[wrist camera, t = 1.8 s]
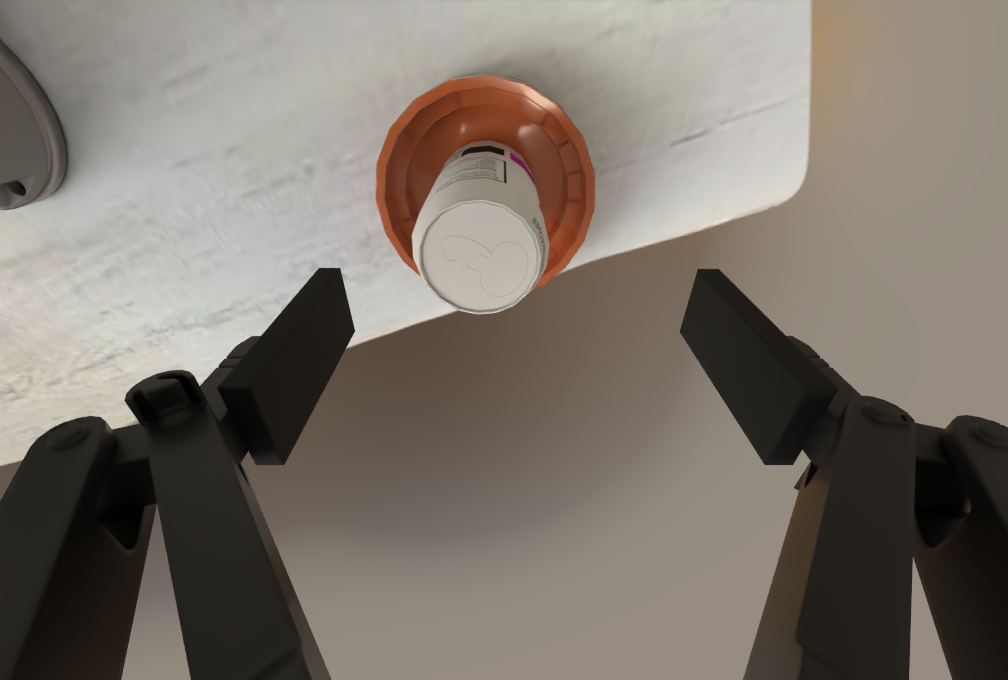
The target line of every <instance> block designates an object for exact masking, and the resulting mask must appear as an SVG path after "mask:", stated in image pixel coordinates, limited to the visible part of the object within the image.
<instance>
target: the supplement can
mask: <svg viewBox="0 0 1008 680" xmlns="http://www.w3.org/2000/svg"><path fill="white" fill-rule="evenodd" d="M412 246H413V259H414V261H415V263H416V266H417V268H418V270H419V273H420V275H421V277H422V279H423V280H424V281H425V282H426V285H427V286H428V287H429V288H430V290H431V291H432V292H433V293H434V294H435V295H436V296H437V297H438V298H439V299H440V300H441V301H442V302H444V303H446V304H448V305H450V306H451V307H453V308H455V309H457V310H459V311H464V312H469V313H473V314H487V313H496V312H499V311H502V310H504V309H507V308H509V307H512V306H514V305H515V304H517V303H518V302H519V301H520V300H521V299H522V298H523V297H524V296H526V295H527V294H528V293H529V292H530V291H531V290H532V289H533V288H534V287H535V286H536V285H537V283H538V281H539V279H540V278H541V276H542V274H543V272H544V270H545V269H546V266H547V259H548V252H549V246H550V245H549V240H548V236H547V231H546V227H545V222H544V218H543V214H542V210H541V206H540V202H539V198H538V194H537V190H536V186H535V182H534V178H533V174H532V171H531V169H530V168H529V166H528V164H527V163H526V161H525V160H524V158H523V157H522V155H520V154H519V153H518V152H516V151H515V150H514V149H512V148H511V147H510V146H508V145H506V144H503V143H499V142H496V141H492V140H485V141H476V142H471V143H469V144H467V145H465V146H463V147H462V148H460V149H458V150H456V151H455V153H454V154H453V155H452V156H451V157H450V158H449V160H448V161H447V162H446V163H445V165H444V167H443V169H442V170H441V172H440V174H439V176H438V178H437V180H436V182H435V184H434V186H433V188H432V190H431V192H430V193H429V195H428V197H427V199H426V201H425V203H424V205H423V207H422V209H421V211H420V213H419V216H418V219H417V221H416V224H415V227H414V230H413V233H412Z"/></svg>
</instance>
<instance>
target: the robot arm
mask: <svg viewBox="0 0 1008 680" xmlns="http://www.w3.org/2000/svg"><path fill="white" fill-rule="evenodd" d="M66 158H67V155H66V147H65V142H64V137H63V134H62V131H61V128H60V125H59V123H58V120H57V118H56V116H55V114H54V112H53V109H52V107H51V106H50V104H49V102H48V100H47V99H46V97H45V95H44V94H43V92H42V91H41V89H40V88H39V86H38V85H37V83H36V82H35V81H34V79H33V78H32V77H31V75H30V74H29V73H28V71H27V70H26V69H25V68H24V67H23V65H22V64H21V63H20V62H19V61H18V60H17V59H16V58H15V57H14V55H13V54H12V53H11V52H10V51H9V50H8V49H7V48H6V47H5V46H4V45H3V44H2V43H1V42H0V210H9V209H15V208H18V207H22V206H25V205H28V204H31V203H34V202H38V201H40V200H43V199H45V198H47V197H48V196H50V195H51V194H52V193H53V192H54V191H56V189H57V188H58V187H59V185H60V184H61V182H62V180H63V178H64V174H65V170H66ZM354 332H355V329H354V325H353V320H352V316H351V312H350V308H349V304H348V299H347V295H346V291H345V287H344V282H343V278H342V274H341V270H340V268H319V269H318V270H317V271H316V272H315V273H314V275H313V276H312V277H311V278H310V279H309V281H308V282H307V283H306V284H305V285H304V286H303V288H302V289H301V290H300V291H299V292H298V293H297V295H296V296H295V297H294V298H293V299H292V300H291V302H290V303H289V304H288V305H287V306H286V307H285V309H284V310H283V311H282V312H281V313H280V315H279V316H278V317H277V318H276V319H275V320H274V322H273V323H272V324H271V325H270V326H269V327H268V329H267V330H266V331H265V332H264V333H263V334H262V336H252V337H250V338H248V339H247V340H245V341H244V342H242V343H240V344H239V345H237V346H236V347H235V348H234V349H233V350H232V351H231V353H230V354H229V355H228V356H227V359H224V360H223V361H222V362H221V364H220V365H219V368H216V369H215V370H214V371H213V372H212V373H211V375H210V376H209V377H208V378H207V379H206V380H205V381H204V382H203V383H202V384H201V386H199V384H198V382H197V381H196V379H195V377H194V375H192V374H191V373H190V372H189V371H184V370H172V371H166V372H162V373H158V374H155V375H153V376H151V377H148V378H146V379H144V380H142V381H141V382H139V383H138V384H136V385H135V386H133V387H132V388H131V389H130V390H129V392H128V393H127V394H126V397H125V402H126V403H127V405H128V406H129V408H130V409H131V411H132V412H133V414H134V415H135V417H136V418H137V419H138V421H139V422H140V424H137V425H132V426H127V427H122V428H117V429H113V430H112V429H111V428H110V427H109V425H108V424H107V423H106V421H105V420H103V419H102V418H101V417H94V416H88V417H82V418H77V419H74V420H71V421H67V422H64V423H62V424H59V425H58V426H55V427H53V428H52V429H50V430H49V431H47V432H46V433H45V434H43V435H42V436H40V437H39V438H38V439H37V440H36V441H35V442H34V443H33V445H32V446H31V447H30V449H29V450H28V452H27V454H26V456H25V458H24V459H23V461H22V463H21V465H20V467H19V468H18V470H17V472H16V474H15V476H14V478H13V479H12V481H11V483H10V485H9V487H8V488H7V490H6V492H5V494H4V496H3V497H2V499H1V501H0V680H121V678H122V673H123V668H124V663H125V658H126V653H127V648H128V643H129V638H130V633H131V628H132V624H133V618H134V614H135V609H136V604H137V599H138V594H139V589H140V584H141V579H142V574H143V570H144V564H145V559H146V555H147V550H148V545H149V540H150V535H151V530H152V525H153V520H154V515H155V511H156V506H157V504H158V510H159V515H160V520H161V525H162V531H163V536H164V541H165V546H166V552H167V557H168V562H169V567H170V572H171V578H172V583H173V588H174V593H175V599H176V604H177V609H178V614H179V620H180V625H181V630H182V635H183V640H184V646H185V651H186V656H187V661H188V666H189V672H190V677H191V680H331V677H330V675H329V672H328V670H327V668H326V665H325V663H324V660H323V658H322V656H321V653H320V651H319V648H318V646H317V644H316V641H315V639H314V636H313V634H312V632H311V629H310V627H309V624H308V622H307V619H306V617H305V615H304V612H303V610H302V607H301V605H300V602H299V600H298V598H297V595H296V593H295V591H294V588H293V586H292V583H291V581H290V578H289V576H288V574H287V571H286V569H285V567H284V564H283V561H282V559H281V557H280V554H279V552H278V549H277V547H276V545H275V542H274V540H273V537H272V535H271V533H270V530H269V528H268V525H267V523H266V521H265V518H264V516H263V513H262V511H261V509H260V506H259V504H258V501H257V499H256V496H255V494H254V492H253V489H252V487H251V484H250V482H249V480H248V477H247V475H246V473H245V470H244V468H243V466H242V464H241V461H242V460H243V458H244V457H245V455H246V454H247V452H248V451H249V453H250V455H251V456H252V458H253V460H254V462H255V464H256V465H284V464H285V462H286V460H287V459H288V457H289V455H290V453H291V451H292V449H293V447H294V445H295V444H296V442H297V440H298V438H299V436H300V434H301V432H302V430H303V428H304V426H305V425H306V423H307V421H308V419H309V417H310V415H311V413H312V411H313V410H314V408H315V406H316V404H317V402H318V400H319V398H320V396H321V394H322V393H323V391H324V389H325V387H326V385H327V383H328V381H329V379H330V377H331V376H332V374H333V372H334V370H335V368H336V366H337V364H338V362H339V360H340V358H341V356H342V355H343V353H344V351H345V349H346V347H347V345H348V343H349V342H350V340H351V338H352V336H353V334H354ZM680 333H681V334H682V336H683V338H684V339H685V341H686V342H687V344H688V345H689V347H690V349H691V350H692V352H693V353H694V355H695V356H696V358H697V359H698V361H699V363H700V364H701V366H702V367H703V369H704V370H705V372H706V374H707V375H708V377H709V378H710V380H711V381H712V383H713V385H714V386H715V388H716V389H717V391H718V392H719V394H720V396H721V397H722V399H723V400H724V402H725V403H726V405H727V406H728V408H729V410H730V411H731V413H732V414H733V416H734V417H735V419H736V420H737V422H738V424H739V425H740V427H741V428H742V430H743V432H744V433H745V435H746V436H747V437H748V439H749V441H750V442H751V444H752V445H753V447H754V449H755V450H756V452H757V453H758V455H759V456H760V458H761V459H762V461H763V463H764V464H765V465H793V464H794V462H795V460H796V459H797V457H798V455H799V454H800V452H801V450H803V451H804V452H805V454H806V455H807V456H808V457H809V459H810V460H811V462H810V463H809V465H808V466H807V468H806V470H805V471H804V473H803V474H802V476H801V477H800V479H799V481H798V482H797V484H796V485H795V487H794V488H795V489H797V490H799V493H798V496H797V500H796V503H795V507H794V509H793V513H792V516H791V520H790V523H789V526H788V530H787V533H786V537H785V540H784V543H783V547H782V550H781V553H780V557H779V560H778V564H777V567H776V571H775V574H774V577H773V581H772V584H771V587H770V590H769V594H768V597H767V601H766V604H765V607H764V611H763V614H762V617H761V621H760V624H759V628H758V631H757V635H756V638H755V641H754V645H753V648H752V651H751V655H750V658H749V662H748V665H747V668H746V672H745V675H744V678H743V680H909V662H910V660H909V659H910V628H911V626H910V625H911V596H912V595H911V594H912V563H913V558H914V561H915V564H916V567H917V570H918V573H919V576H920V579H921V583H922V586H923V589H924V592H925V595H926V598H927V601H928V604H929V608H930V611H931V614H932V617H933V620H934V623H935V627H936V630H937V633H938V636H939V639H940V642H941V645H942V649H943V652H944V655H945V658H946V661H947V664H948V667H949V671H950V673H951V677H952V680H1008V428H1007V427H1005V426H1004V425H1000V424H999V423H997V422H994V421H990V420H987V419H983V418H980V417H975V416H969V415H964V416H957V417H956V418H955V419H954V420H953V421H952V422H951V423H950V424H949V425H948V426H947V428H946V429H942V428H938V427H932V426H928V425H923V424H918V423H915V421H914V419H913V418H912V417H911V416H910V415H909V414H908V413H907V412H905V411H904V410H902V409H901V408H899V407H898V406H896V405H894V404H892V403H890V402H887V401H885V400H882V399H879V398H875V397H871V396H861V395H860V394H859V393H858V392H857V391H856V390H855V389H854V388H853V387H852V386H851V385H850V384H848V383H847V382H846V381H845V380H844V379H843V378H842V377H841V376H840V375H839V374H838V373H837V372H836V371H835V370H834V369H833V368H830V367H829V364H828V363H826V362H825V361H824V360H823V359H820V356H819V355H818V354H817V353H816V352H815V351H814V350H813V349H812V348H811V347H810V346H809V345H807V344H805V343H803V342H802V341H800V340H798V339H796V338H795V337H793V336H786V335H784V333H783V332H781V331H780V330H779V329H778V328H777V327H776V326H775V325H774V324H773V323H772V322H771V321H770V320H769V319H768V318H767V317H766V316H765V315H764V314H763V313H762V312H761V311H760V310H759V309H758V308H757V307H756V306H755V305H754V304H753V303H752V302H751V301H750V300H749V299H748V298H747V297H746V296H745V295H744V294H743V293H742V292H741V291H740V290H739V289H738V288H737V287H736V286H735V285H734V284H733V283H732V282H731V281H730V280H729V279H728V278H727V277H726V276H725V275H724V274H723V273H722V272H721V271H720V270H719V269H698V271H697V274H696V277H695V281H694V284H693V288H692V292H691V295H690V298H689V301H688V305H687V308H686V312H685V315H684V319H683V322H682V326H681V329H680Z"/></svg>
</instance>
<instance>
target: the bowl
mask: <svg viewBox="0 0 1008 680" xmlns="http://www.w3.org/2000/svg"><path fill="white" fill-rule="evenodd" d="M485 140H492V141H496V142H499V143H503V144H506V145H508V146H510V147H511V148H512V149H514V150H515V151H516V152H518V153H519V154H520V155H522V157H523V158H524V160H525V161H526V163H527V164H528V166H529V168H530V169H531V171H532V174H533V178H534V182H535V186H536V190H537V194H538V198H539V202H540V206H541V210H542V214H543V218H544V222H545V227H546V231H547V236H548V240H549V245H550V246H549V252H548V259H547V266H546V269H545V270H544V272H543V274H542V276H541V278H540V279H539V281H538V283H537V285H536V286H535V287H534V288H533V289H536V288H538V287H541V286H542V285H544V284H545V283H546V282H548V281H549V280H550V279H551V278H553V277H554V276H555V275H556V274H558V273H559V272H560V271H562V270H563V269H564V268H565V267H566V266H567V265H568V263H569V262H570V260H571V259H572V257H573V256H574V255H575V253H576V252H577V250H578V249H579V247H580V246H581V245H582V243H583V242H584V240H585V237H586V234H587V231H588V228H589V225H590V221H591V218H592V215H593V212H594V208H595V174H594V169H593V166H592V163H591V160H590V157H589V154H588V150H587V147H586V144H585V141H584V139H583V137H582V135H581V134H580V132H579V131H578V130H577V128H576V127H575V126H574V124H573V123H572V122H571V120H570V119H569V118H568V116H567V115H566V113H565V112H564V111H563V109H562V108H561V107H560V106H559V105H558V104H557V103H556V102H555V101H553V100H552V99H551V98H549V97H548V96H546V95H545V94H543V93H542V92H540V91H539V90H537V89H536V88H534V87H533V86H531V85H530V84H528V83H527V82H525V81H522V80H518V79H514V78H510V77H505V76H501V75H497V74H493V73H484V74H477V75H469V76H462V77H455V78H453V79H451V80H448V81H447V82H445V83H443V84H441V85H439V86H438V87H436V88H434V89H432V90H430V91H429V92H427V93H425V94H423V95H421V96H420V97H418V98H416V99H415V100H413V102H412V103H411V104H410V105H409V106H408V108H407V109H406V110H405V111H404V112H403V114H402V115H401V116H400V117H399V118H398V119H397V121H396V122H395V123H394V124H393V125H392V127H391V128H390V129H389V132H388V135H387V137H386V140H385V143H384V145H383V148H382V151H381V154H380V156H379V159H378V162H377V171H376V202H377V206H378V209H379V213H380V216H381V220H382V223H383V227H384V231H385V233H386V235H387V236H388V238H389V239H390V241H391V243H392V244H393V246H394V247H395V249H396V250H397V252H398V254H399V255H400V257H401V258H402V260H403V261H404V262H405V263H406V264H407V265H408V266H409V267H411V268H412V269H413V270H414V271H415V272H416V273H417V274H419V275H420V273H419V270H418V268H417V266H416V263H415V261H414V259H413V246H412V233H413V230H414V227H415V224H416V221H417V219H418V216H419V213H420V211H421V209H422V207H423V205H424V203H425V201H426V199H427V197H428V195H429V193H430V192H431V190H432V188H433V186H434V184H435V182H436V180H437V178H438V176H439V174H440V172H441V170H442V169H443V167H444V165H445V163H446V162H447V161H448V160H449V158H450V157H451V156H452V155H453V154H454V153H455V151H456V150H458V149H460V148H462V147H463V146H465V145H467V144H469V143H471V142H476V141H485ZM420 276H421V275H420ZM533 289H532V290H533Z"/></svg>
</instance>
